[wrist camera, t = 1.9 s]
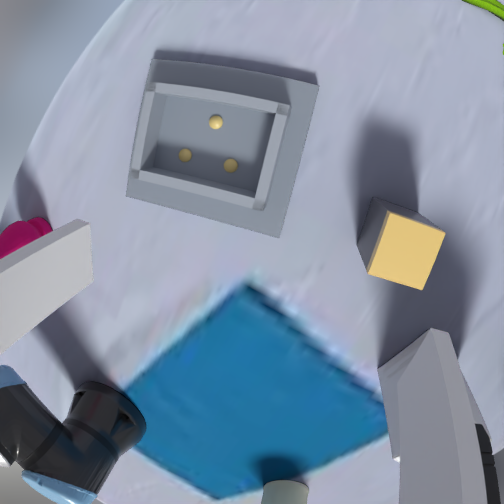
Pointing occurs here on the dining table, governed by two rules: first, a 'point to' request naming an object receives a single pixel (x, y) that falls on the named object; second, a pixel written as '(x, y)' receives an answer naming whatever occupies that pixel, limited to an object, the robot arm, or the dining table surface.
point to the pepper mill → (22, 234)
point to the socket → (220, 142)
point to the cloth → (489, 7)
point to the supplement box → (388, 382)
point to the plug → (398, 244)
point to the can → (285, 492)
